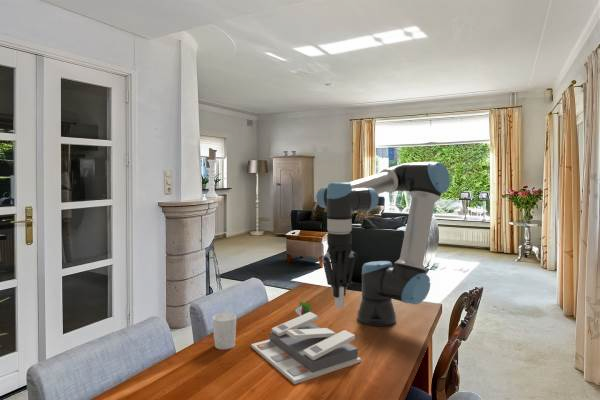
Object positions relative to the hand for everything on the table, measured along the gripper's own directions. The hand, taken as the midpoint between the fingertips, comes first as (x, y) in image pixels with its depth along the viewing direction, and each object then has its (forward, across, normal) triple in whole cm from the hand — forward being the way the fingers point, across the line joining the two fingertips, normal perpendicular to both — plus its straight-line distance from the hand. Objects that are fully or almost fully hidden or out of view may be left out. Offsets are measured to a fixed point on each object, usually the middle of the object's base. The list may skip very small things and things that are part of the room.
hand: (339, 306), depth 123 cm
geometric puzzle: (+17, -8, -34) cm, 39 cm away
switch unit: (+16, +8, -8) cm, 20 cm away
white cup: (+17, +28, -27) cm, 42 cm away
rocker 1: (+10, +6, -18) cm, 21 cm away
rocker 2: (+10, +6, -8) cm, 14 cm away
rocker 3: (+10, +5, +2) cm, 12 cm away
